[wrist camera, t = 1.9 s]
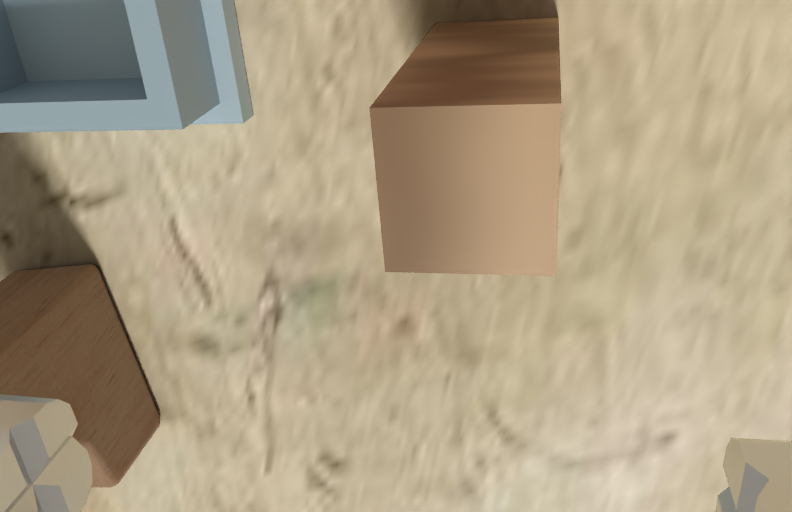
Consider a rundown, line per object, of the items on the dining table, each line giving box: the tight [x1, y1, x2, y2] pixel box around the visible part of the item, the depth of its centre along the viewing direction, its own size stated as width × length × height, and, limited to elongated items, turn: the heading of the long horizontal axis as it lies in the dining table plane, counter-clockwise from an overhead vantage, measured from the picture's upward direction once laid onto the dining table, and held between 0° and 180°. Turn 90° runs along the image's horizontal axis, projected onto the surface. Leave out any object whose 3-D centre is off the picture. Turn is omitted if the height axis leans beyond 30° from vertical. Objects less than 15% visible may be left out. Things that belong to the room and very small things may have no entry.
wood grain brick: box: [370, 17, 561, 276], centre depth 20 cm, size 4×4×10 cm
